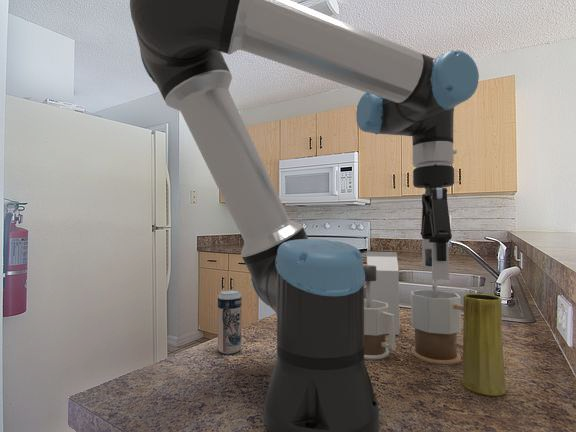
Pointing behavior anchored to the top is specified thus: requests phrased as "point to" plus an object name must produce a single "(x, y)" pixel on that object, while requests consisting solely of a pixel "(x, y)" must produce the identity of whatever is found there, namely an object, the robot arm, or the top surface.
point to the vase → (483, 345)
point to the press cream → (376, 322)
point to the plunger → (429, 263)
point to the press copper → (436, 326)
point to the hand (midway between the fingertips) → (434, 274)
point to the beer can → (229, 321)
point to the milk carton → (386, 282)
